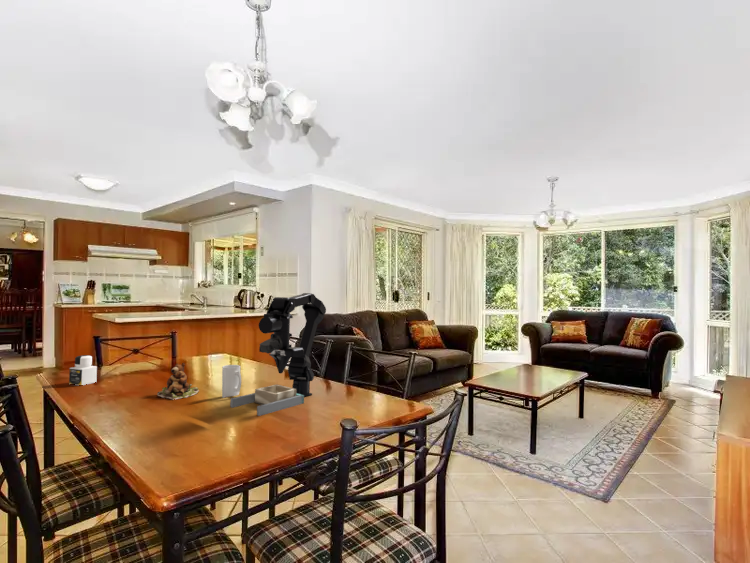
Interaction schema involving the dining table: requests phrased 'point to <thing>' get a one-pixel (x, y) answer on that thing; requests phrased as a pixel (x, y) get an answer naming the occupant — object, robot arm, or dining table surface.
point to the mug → (231, 380)
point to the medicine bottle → (83, 371)
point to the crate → (273, 394)
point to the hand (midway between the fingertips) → (280, 373)
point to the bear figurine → (178, 385)
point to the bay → (270, 406)
